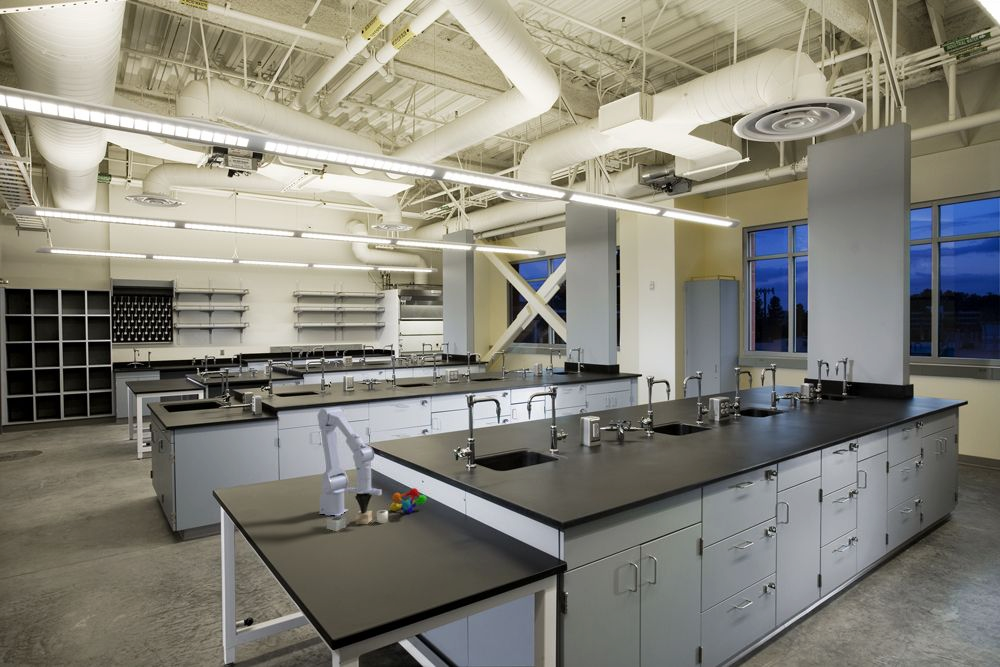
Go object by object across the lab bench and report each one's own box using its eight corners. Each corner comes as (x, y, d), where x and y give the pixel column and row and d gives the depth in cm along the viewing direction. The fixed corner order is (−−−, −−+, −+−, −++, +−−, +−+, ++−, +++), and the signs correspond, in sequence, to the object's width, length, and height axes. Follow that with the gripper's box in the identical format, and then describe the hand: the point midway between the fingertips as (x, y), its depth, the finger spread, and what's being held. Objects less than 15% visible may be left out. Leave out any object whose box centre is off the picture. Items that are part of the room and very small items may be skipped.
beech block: (355, 524, 217) (355, 514, 217) (359, 520, 222) (359, 510, 222) (368, 524, 217) (368, 514, 217) (371, 520, 222) (371, 510, 222)
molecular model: (386, 522, 230) (408, 512, 221) (379, 499, 233) (401, 489, 224) (413, 513, 242) (435, 503, 233) (407, 491, 244) (428, 481, 236)
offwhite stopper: (374, 523, 219) (374, 512, 219) (379, 519, 223) (379, 509, 223) (385, 524, 218) (385, 513, 218) (389, 520, 222) (389, 510, 222)
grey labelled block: (326, 530, 212) (326, 519, 212) (336, 526, 216) (336, 515, 216) (336, 532, 209) (336, 521, 209) (345, 528, 214) (345, 517, 214)
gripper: (342, 479, 218) (342, 514, 218) (376, 481, 214) (376, 516, 214) (350, 475, 224) (350, 508, 224) (383, 477, 221) (384, 510, 221)
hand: (363, 512), depth 220 cm, fingers closed
